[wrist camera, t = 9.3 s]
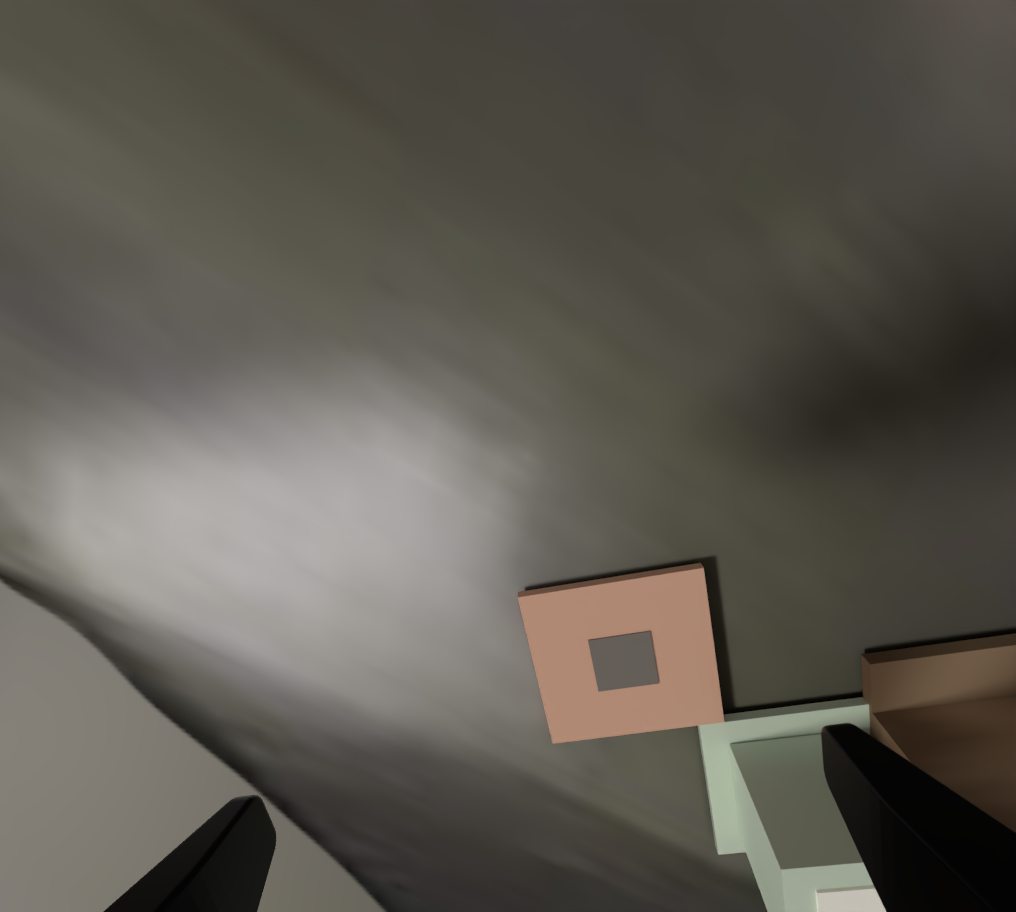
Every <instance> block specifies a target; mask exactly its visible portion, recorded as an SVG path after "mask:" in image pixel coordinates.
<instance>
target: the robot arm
mask: <svg viewBox="0 0 1016 912" xmlns="http://www.w3.org/2000/svg"><path fill="white" fill-rule="evenodd" d="M821 742H822V755H823V768H824V774H825V778H826V781H827V784H828V786H829V789H830V791H831V793H832V795H833V798H834V800H835V802H836V804H837V806H838V808H839V811H840V813H841V815H842V817H843V819H844V822H845V824H846V826H847V828H848V830H849V833H850V835H851V837H852V839H853V841H854V843H855V846H856V848H857V850H858V852H859V854H860V857H861V859H862V861H863V863H864V865H865V867H866V870H867V872H868V874H869V876H870V878H871V881H872V883H873V885H874V887H875V889H876V891H877V893H878V895H879V898H880V900H881V902H882V904H883V906H884V908H885V910H886V912H1016V832H1014V831H1013V830H1011V829H1010V828H1008V827H1007V826H1005V825H1004V824H1002V823H1001V822H999V821H998V820H996V819H995V818H993V817H992V816H990V815H989V814H987V813H986V812H984V811H983V810H981V809H980V808H978V807H977V806H975V805H974V804H972V803H971V802H969V801H968V800H966V799H965V798H963V797H962V796H960V795H959V794H957V793H956V792H955V791H953V790H952V789H950V788H949V787H947V786H946V785H944V784H943V783H941V782H940V781H938V780H937V779H935V778H934V777H932V776H931V775H929V774H928V773H926V772H925V771H923V770H922V769H920V768H919V767H917V766H916V765H914V764H913V763H911V762H910V761H908V760H907V759H905V758H904V757H902V756H901V755H899V754H898V753H896V752H895V751H893V750H892V749H890V748H889V747H887V746H886V745H884V744H883V743H881V742H880V741H878V740H877V739H875V738H874V737H872V736H871V735H869V734H868V733H866V732H865V731H863V730H862V729H860V728H859V727H857V726H856V725H853V724H851V723H843V724H834V725H826V726H824V727H823V728H822V731H821ZM275 846H276V831H275V828H274V826H273V824H272V821H271V819H270V817H269V814H268V812H267V810H266V807H265V805H264V803H263V801H262V799H261V798H260V797H259V796H258V795H250V796H242V797H236V798H234V799H232V800H230V801H229V802H228V803H227V804H226V805H225V806H223V807H222V808H221V809H220V810H219V811H218V812H216V813H215V814H214V815H213V816H212V817H211V818H210V819H208V820H207V821H206V822H205V823H204V824H203V825H202V826H201V827H199V828H198V829H197V830H196V831H195V832H194V833H193V834H191V835H190V836H189V837H188V838H187V839H186V840H185V841H183V842H182V843H181V844H180V845H179V846H178V847H177V848H175V850H173V851H172V852H171V853H170V854H169V855H168V856H166V857H165V858H164V859H163V860H162V861H161V862H160V863H158V864H157V865H156V866H155V867H154V868H153V869H151V870H150V871H149V872H148V873H147V874H146V875H145V876H144V877H142V878H141V879H140V880H139V881H138V882H137V883H136V884H134V885H133V886H132V887H131V888H130V889H129V890H128V891H127V892H125V893H124V894H123V895H122V896H121V897H120V898H119V899H117V900H116V901H115V902H114V903H113V904H112V905H110V906H109V907H108V908H107V909H106V910H105V911H104V912H257V910H258V906H259V902H260V899H261V896H262V892H263V889H264V885H265V882H266V878H267V875H268V871H269V868H270V864H271V861H272V857H273V854H274V850H275Z"/></svg>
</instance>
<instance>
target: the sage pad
mask: <svg viewBox="0 0 1016 912" xmlns="http://www.w3.org/2000/svg"><path fill="white" fill-rule="evenodd" d="M843 723H851V724H853V725H856V726H857V727H859V728H860V729H862V730H863V731H865V732H866V733H868V734H869V735H870V715H869V704H868V702H867V701H866V700H865V699H864V697H859V698H851V699H843V700H835V701H827V702H819V703H811V704H803V705H795V706H787V707H779V708H772V709H764V710H756V711H748V712H740V713H732V714H724V722H722V723H714V724H706V725H698V732H699V738H700V745H701V752H702V758H703V765H704V772H705V778H706V785H707V792H708V798H709V805H710V812H711V818H712V825H713V832H714V838H715V845H716V849H717V852H718V855H720V854H731V853H741V852H746V850H745V848H744V845H743V842H742V839H741V835H740V827H739V819H738V810H737V802H736V794H735V786H734V778H733V770H732V762H731V754H730V746H729V744H737V743H746V742H755V741H763V740H772V739H781V738H790V737H798V736H807V735H816V734H821V731H822V728H823V727H824V726H826V725H834V724H843Z"/></svg>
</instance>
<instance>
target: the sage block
mask: <svg viewBox="0 0 1016 912" xmlns="http://www.w3.org/2000/svg"><path fill="white" fill-rule="evenodd" d="M729 746H730V754H731V762H732V770H733V778H734V786H735V794H736V802H737V810H738V819H739V827H740V835H741V839H742V842H743V845H744V848H745V850H746V853H747V856H748V859H749V861H750V864H751V867H752V870H753V872H754V875H755V878H756V881H757V883H758V886H759V889H760V892H761V894H762V897H763V900H764V903H765V905H766V908H767V911H768V912H886V910H885V908H884V906H883V904H882V902H881V900H880V898H879V895H878V893H877V891H876V889H875V887H874V885H873V883H872V881H871V878H870V876H869V874H868V872H867V870H866V867H865V865H864V863H863V861H862V859H861V857H860V854H859V852H858V850H857V848H856V846H855V843H854V841H853V839H852V837H851V835H850V833H849V830H848V828H847V826H846V824H845V822H844V819H843V817H842V815H841V813H840V811H839V808H838V806H837V804H836V802H835V800H834V798H833V795H832V793H831V791H830V789H829V786H828V784H827V781H826V778H825V774H824V768H823V755H822V742H821V734H816V735H807V736H798V737H790V738H781V739H772V740H763V741H755V742H746V743H737V744H729Z"/></svg>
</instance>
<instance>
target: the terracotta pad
mask: <svg viewBox="0 0 1016 912" xmlns="http://www.w3.org/2000/svg"><path fill="white" fill-rule="evenodd" d="M518 601H519V605H520V609H521V613H522V617H523V621H524V626H525V630H526V634H527V638H528V642H529V646H530V651H531V655H532V659H533V663H534V667H535V671H536V676H537V680H538V684H539V688H540V692H541V696H542V701H543V705H544V709H545V713H546V717H547V721H548V726H549V730H550V734H551V738H552V742H553V744H554V743H562V742H570V741H578V740H586V739H594V738H602V737H610V736H618V735H626V734H634V733H642V732H650V731H658V730H666V729H674V728H682V727H690V726H698V725H706V724H714V723H722V722H724V715H723V708H722V700H721V693H720V685H719V678H718V671H717V663H716V656H715V648H714V641H713V633H712V626H711V618H710V611H709V603H708V596H707V588H706V581H705V573H704V567H703V566H702V564H701V563H696V564H690V565H683V566H677V567H671V568H665V569H659V570H652V571H646V572H640V573H634V574H627V575H621V576H615V577H609V578H603V579H596V580H590V581H584V582H578V583H571V584H565V585H559V586H553V587H547V588H540V589H534V590H528V591H522V592H518Z"/></svg>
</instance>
